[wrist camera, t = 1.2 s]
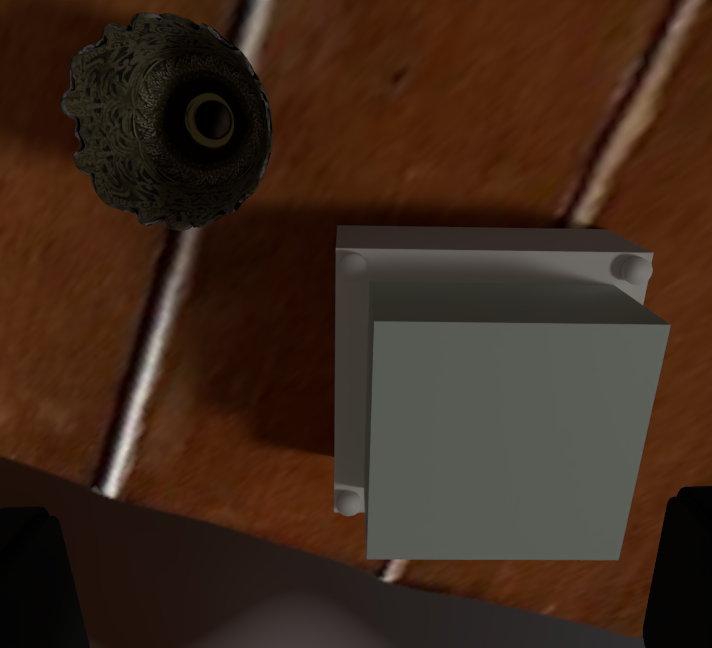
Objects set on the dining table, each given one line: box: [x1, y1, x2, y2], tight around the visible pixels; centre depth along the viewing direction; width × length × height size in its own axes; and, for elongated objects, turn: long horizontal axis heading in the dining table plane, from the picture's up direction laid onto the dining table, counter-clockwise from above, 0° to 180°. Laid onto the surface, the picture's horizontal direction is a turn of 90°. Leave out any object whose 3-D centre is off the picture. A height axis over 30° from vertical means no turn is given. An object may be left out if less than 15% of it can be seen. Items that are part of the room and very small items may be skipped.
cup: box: [60, 13, 273, 231], centre depth 25 cm, size 8×7×8 cm
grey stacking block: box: [334, 225, 671, 560], centre depth 29 cm, size 14×14×10 cm
